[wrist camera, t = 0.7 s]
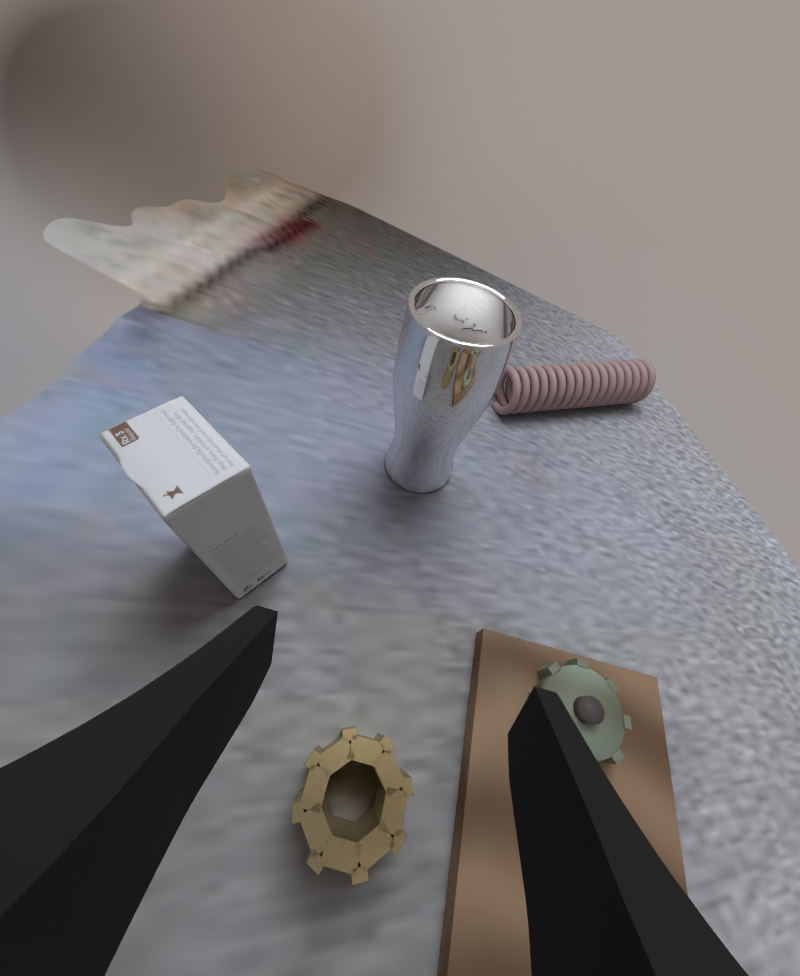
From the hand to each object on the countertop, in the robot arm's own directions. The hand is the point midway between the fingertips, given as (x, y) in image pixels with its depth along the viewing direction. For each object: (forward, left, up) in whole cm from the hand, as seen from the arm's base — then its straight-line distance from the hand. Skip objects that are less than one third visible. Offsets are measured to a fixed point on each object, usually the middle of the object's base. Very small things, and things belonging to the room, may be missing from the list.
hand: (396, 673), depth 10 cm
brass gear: (-4, 0, -15) cm, 16 cm away
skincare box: (+7, +12, -15) cm, 20 cm away
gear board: (-4, -12, -15) cm, 20 cm away
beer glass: (+19, +1, -15) cm, 24 cm away
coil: (+33, -13, -16) cm, 39 cm away
